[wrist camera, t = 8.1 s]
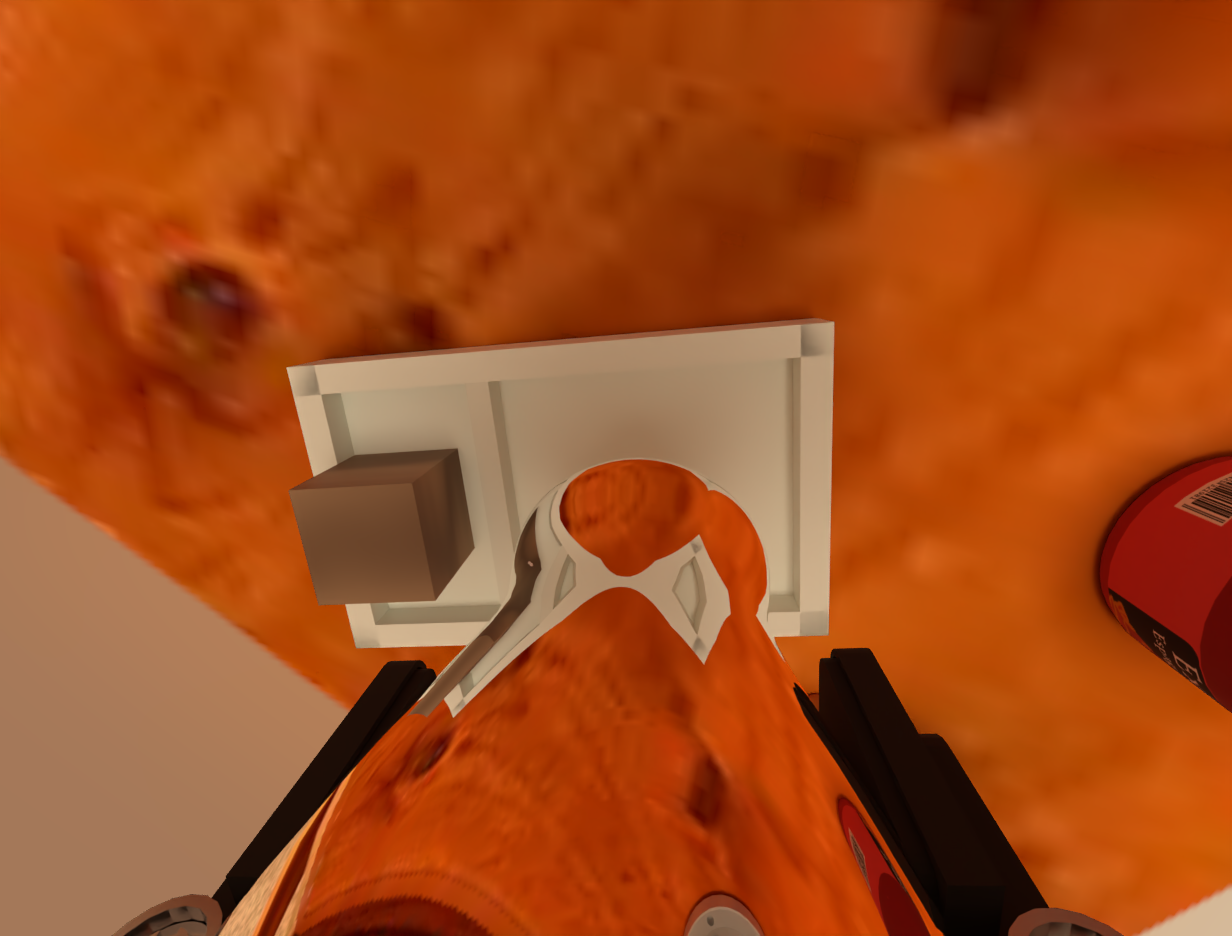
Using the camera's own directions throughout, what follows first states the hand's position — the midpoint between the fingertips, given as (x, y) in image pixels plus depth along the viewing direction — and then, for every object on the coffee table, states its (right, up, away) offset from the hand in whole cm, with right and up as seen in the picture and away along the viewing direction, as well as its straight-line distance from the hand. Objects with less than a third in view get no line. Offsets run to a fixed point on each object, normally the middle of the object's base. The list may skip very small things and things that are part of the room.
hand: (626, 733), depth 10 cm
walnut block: (-8, +3, +12) cm, 15 cm away
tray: (-2, +4, +13) cm, 14 cm away
